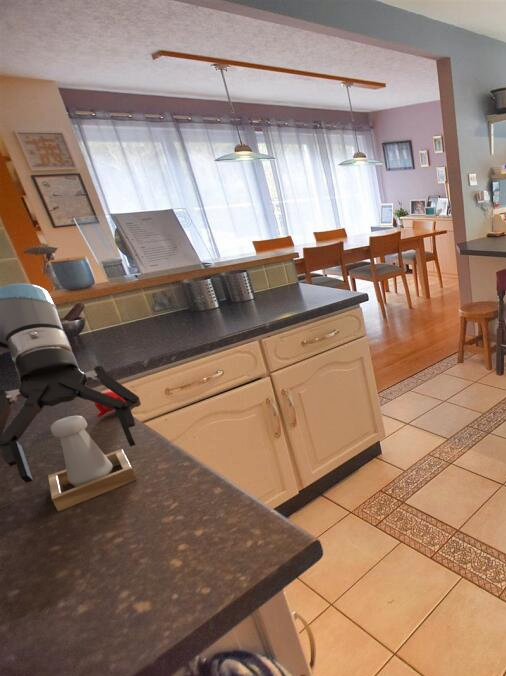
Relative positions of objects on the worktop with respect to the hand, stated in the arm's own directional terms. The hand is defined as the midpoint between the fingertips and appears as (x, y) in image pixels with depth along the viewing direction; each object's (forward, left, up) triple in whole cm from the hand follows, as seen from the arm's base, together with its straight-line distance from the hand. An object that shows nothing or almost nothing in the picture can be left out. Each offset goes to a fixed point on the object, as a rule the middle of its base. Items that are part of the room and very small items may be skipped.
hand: (82, 460), depth 74 cm
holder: (-2, +2, -6) cm, 7 cm away
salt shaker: (-2, +2, -6) cm, 7 cm away
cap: (-24, +28, -6) cm, 37 cm away
